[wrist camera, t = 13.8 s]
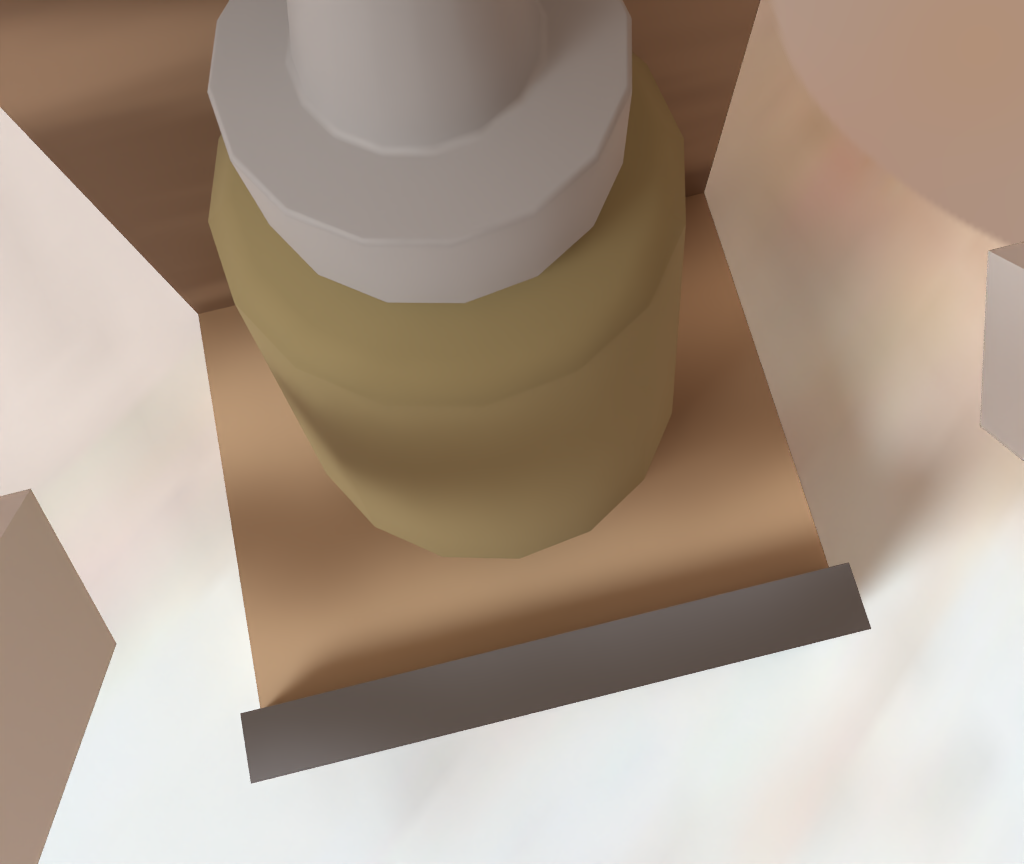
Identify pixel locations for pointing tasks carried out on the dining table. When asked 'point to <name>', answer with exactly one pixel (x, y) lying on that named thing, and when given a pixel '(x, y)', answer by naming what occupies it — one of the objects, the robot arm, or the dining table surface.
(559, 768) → the dining table surface
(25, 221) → the dining table surface
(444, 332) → the squeeze bottle
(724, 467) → the wooden bookend
